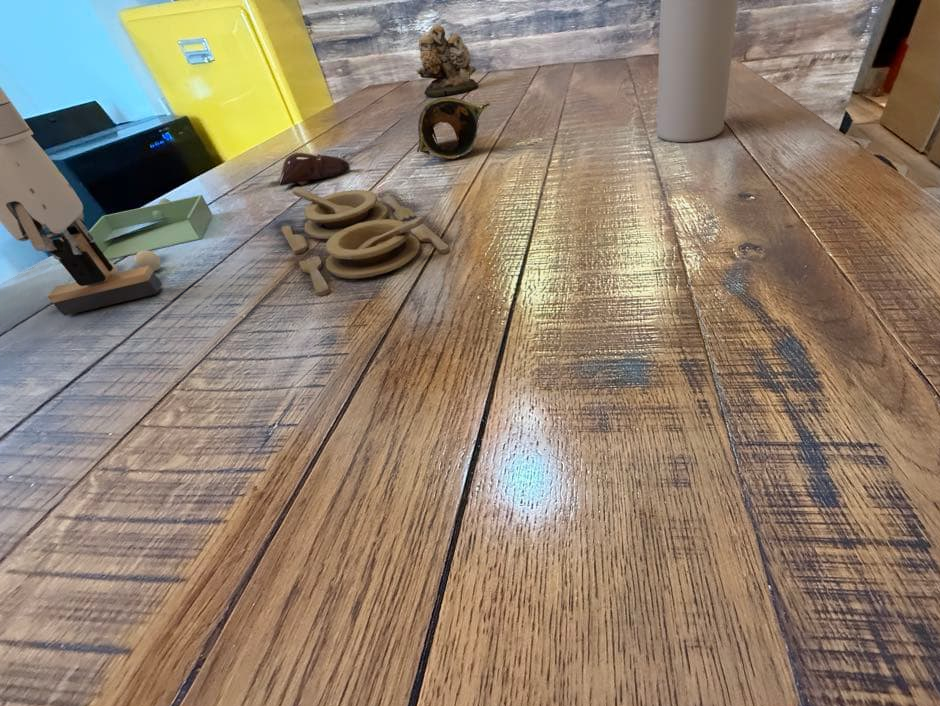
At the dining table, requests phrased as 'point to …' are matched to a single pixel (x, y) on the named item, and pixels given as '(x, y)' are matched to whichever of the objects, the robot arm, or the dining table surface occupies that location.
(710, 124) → the cylinder vase
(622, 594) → the dining table surface
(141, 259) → the ball
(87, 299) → the brush
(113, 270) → the ball
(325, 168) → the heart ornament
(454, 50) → the owl figurine
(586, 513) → the dining table surface
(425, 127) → the pot
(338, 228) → the tableware set
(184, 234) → the dustpan
